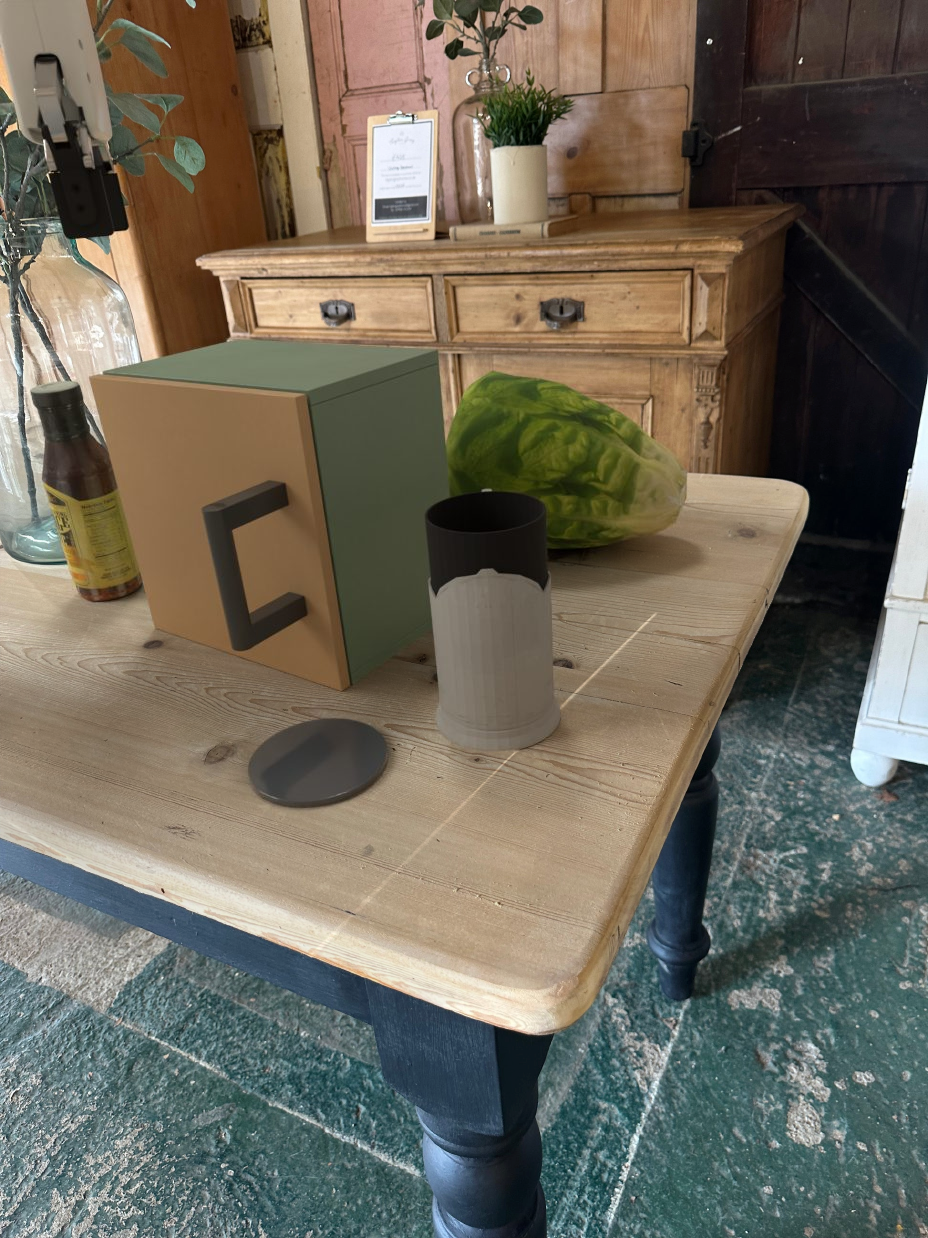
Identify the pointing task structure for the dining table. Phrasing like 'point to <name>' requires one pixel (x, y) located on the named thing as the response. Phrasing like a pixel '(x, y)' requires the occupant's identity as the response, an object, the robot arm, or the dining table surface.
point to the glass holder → (492, 620)
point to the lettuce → (564, 460)
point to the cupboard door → (227, 519)
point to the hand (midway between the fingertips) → (100, 234)
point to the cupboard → (354, 468)
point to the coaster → (317, 763)
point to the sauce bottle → (84, 497)
